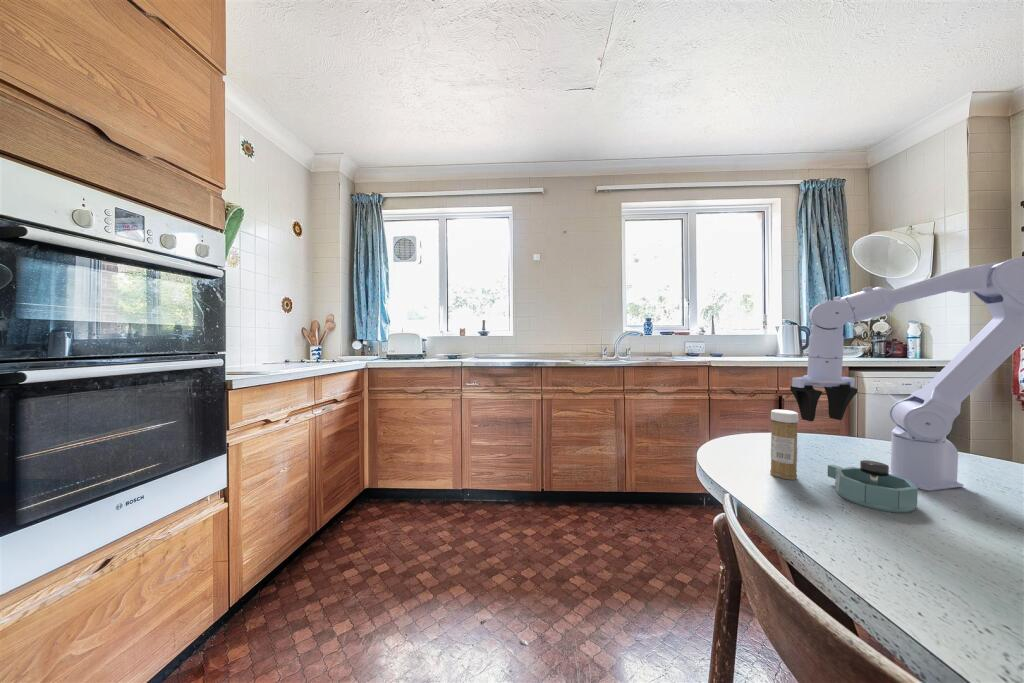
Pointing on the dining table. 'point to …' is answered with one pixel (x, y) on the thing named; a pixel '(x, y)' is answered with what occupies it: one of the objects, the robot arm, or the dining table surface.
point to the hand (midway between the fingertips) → (821, 419)
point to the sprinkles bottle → (784, 444)
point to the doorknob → (874, 470)
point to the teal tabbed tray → (874, 490)
